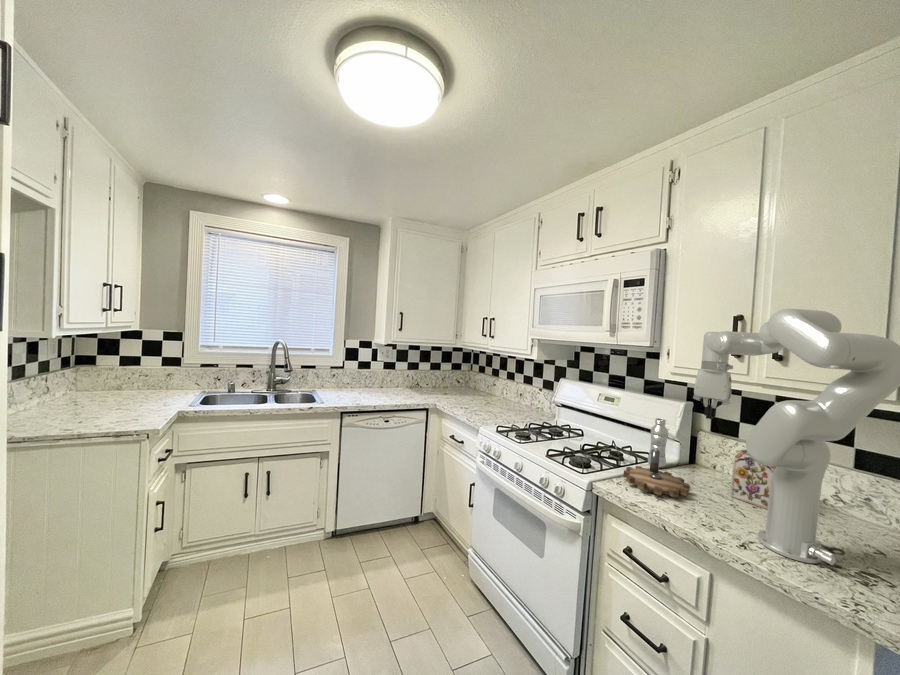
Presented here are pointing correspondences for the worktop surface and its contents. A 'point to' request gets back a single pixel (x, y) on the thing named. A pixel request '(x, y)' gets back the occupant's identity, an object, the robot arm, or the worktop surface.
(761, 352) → the robot arm
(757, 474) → the decorative jar
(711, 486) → the worktop surface
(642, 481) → the sprocket
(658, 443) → the plastic bottle
